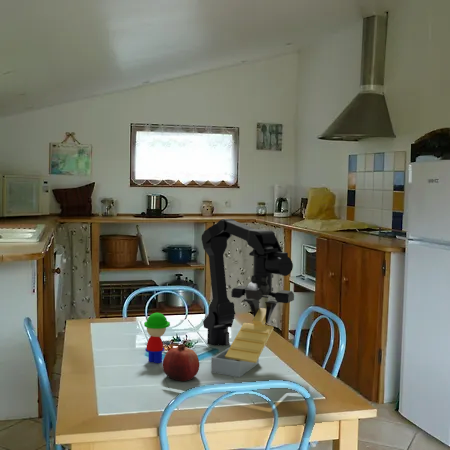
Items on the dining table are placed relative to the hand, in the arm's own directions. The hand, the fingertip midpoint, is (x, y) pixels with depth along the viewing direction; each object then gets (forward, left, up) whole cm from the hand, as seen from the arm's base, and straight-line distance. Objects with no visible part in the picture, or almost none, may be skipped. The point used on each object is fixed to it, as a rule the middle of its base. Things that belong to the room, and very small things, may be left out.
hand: (261, 322), depth 177 cm
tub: (-4, -10, -13) cm, 17 cm away
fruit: (-14, -25, -13) cm, 31 cm away
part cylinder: (-4, -13, -12) cm, 18 cm away
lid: (0, -6, -3) cm, 7 cm away
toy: (-29, -14, -13) cm, 35 cm away
